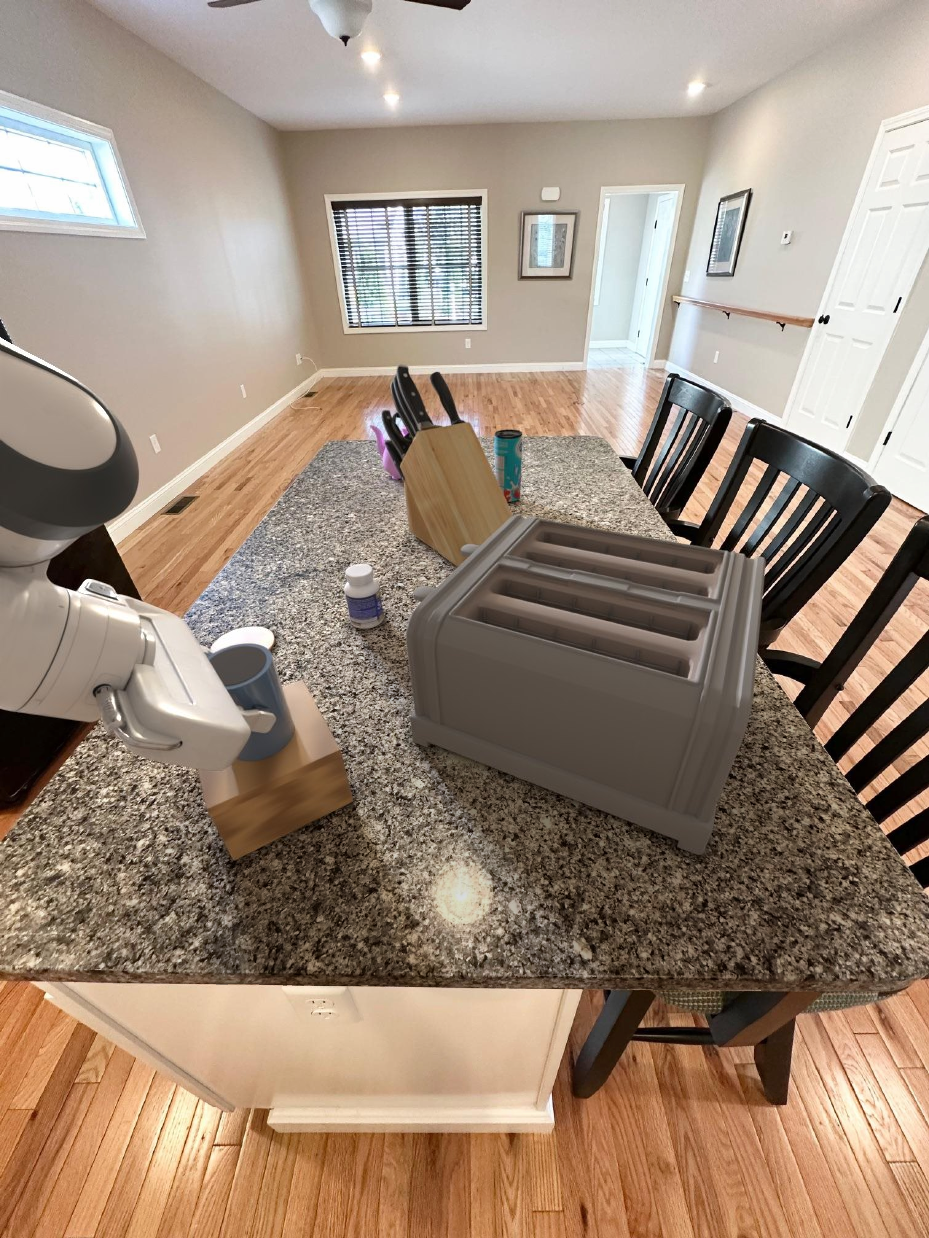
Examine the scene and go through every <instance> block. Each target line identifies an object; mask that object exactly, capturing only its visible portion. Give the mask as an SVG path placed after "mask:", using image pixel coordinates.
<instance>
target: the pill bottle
mask: <svg viewBox="0 0 929 1238" xmlns="http://www.w3.org/2000/svg"><path fill="white" fill-rule="evenodd" d="M344 573H345V579H346V582H345V585H344V587H343V591H344V596H345V601H346V606H347V610H348V616H349V617H348V618H349V622H350V624H351V626H353V627H354V628H357V629H362V630H366V629H373V628H375V627H377V626H379V625H380V624H381V623H382V622H383V621H384V618H385V615H384V608H383V602H382V593H381V587H380V583H379V581H378V580H377V579H376V578H375V576H374V575H375V574H374V570H373V567H372V566H371V565H369V564H366V563H358V564H357V563H356V564H353V565H351V566H349V567H347V568H346V569H345V572H344Z"/></svg>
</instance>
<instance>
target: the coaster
mask: <svg viewBox="0 0 929 1238" xmlns="http://www.w3.org/2000/svg"><path fill="white" fill-rule="evenodd" d="M275 638H276V637H275V634H274V633H273V632H272V631H271V630H270V629H268V628H266V627H262V626H257V625H255V626H254V625H253V626H252V625H251V626H244V627H240V628H239V627H238V628H236V629H233V630H231V631H228V632H227V633H224V634H223V635H221V636H219V638H217V639H216V640H215V641H214V642H213V643H212V645H211V647H210V648H209V649H210V650H212V651H214V652H217V651H219V650H221V649H223V648H226V647H229V646H233V645H237V644H245V643H252V644H259V645H262V646H264V647H266V648H267V649H269V650H270V651H271V650H272V648H273V647H274V646H275V643H276V639H275Z"/></svg>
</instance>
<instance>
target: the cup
mask: <svg viewBox="0 0 929 1238" xmlns="http://www.w3.org/2000/svg"><path fill="white" fill-rule="evenodd" d="M207 658H208V660H209V661H210V663H211V665H212V666H213V668H214V670H215V671H216V673H217V675H218V676H219V678H220V680H221V681H222V683H223V685H224V686H225V688H226V689H227V691H228V693H229V694H230V696H231V698H232V699H233V701H234V703H235V704H236V705H237V706H241V707H242V708H243V709H244V711H246V710H251V709H252V708H253V706H254V705H260V706H263V707H269V709H270V710H271V711H272V713H273V714H274V715H275V717H276V721H275V723H274V725H273V726H272V728H271V730H270V731H268V732H267V733H260V732H253V731H251V734H250V737H249V739H248V741H247V743H246V744H245V746H244V748H243V749H242V751H241V753H240V754H239V756H238V757H237V759H238V760H241V761H258V760H262V759H265V758H268V757H270V756H272V755H274V754H276V753H278V752H279V751H281V750H282V749H283V748H284V747H285V746H286V745H287V744H288V743H289V742H290V740H291V738H292V736H293V734H294V728H295V727H294V723H293V719H292V716H291V713H290V710H289V707H288V704H287V701H286V697H285V694H284V691H283V688H282V687H283V685H282V681H281V678H280V675H279V672H278V669H277V666H276V663H275V660H274V656H273V654H272V651H271V650H269V649H267V648H266V647H264V646H262V645H259V644H252V643H245V644H237V645H233V646H229V647H226V648H223V649H221V650H219V651H217V652H215V653H213V654H212V655H210V656H209V657H207Z"/></svg>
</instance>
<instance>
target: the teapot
mask: <svg viewBox="0 0 929 1238" xmlns="http://www.w3.org/2000/svg"><path fill="white" fill-rule="evenodd" d="M369 428H371V430H372V431H373V432H374V434H375V437H376V446H377V451H378V454H379V455H380V457H382V467H383V469H384V470H385V471H386V472H387V473H388V474H389V475H390V476H392V477H391V479H392V480H401V479H402V478H401V476H400V474H399V472H398V470H397V468H396V466H395V464H394V462H393V460H392V458H391V456H390V454H389V452H388V450H387V448H386V446H385V441H386V440H385V439H384V436H383V433H382V431H381V429H380V428H379V427H377V426H375V425H372V424H369ZM401 432H402V434H403V436H405V435H406V434H408V431H407V429H406V427H405V426H403V427H401ZM388 440H390V438H388Z"/></svg>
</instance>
